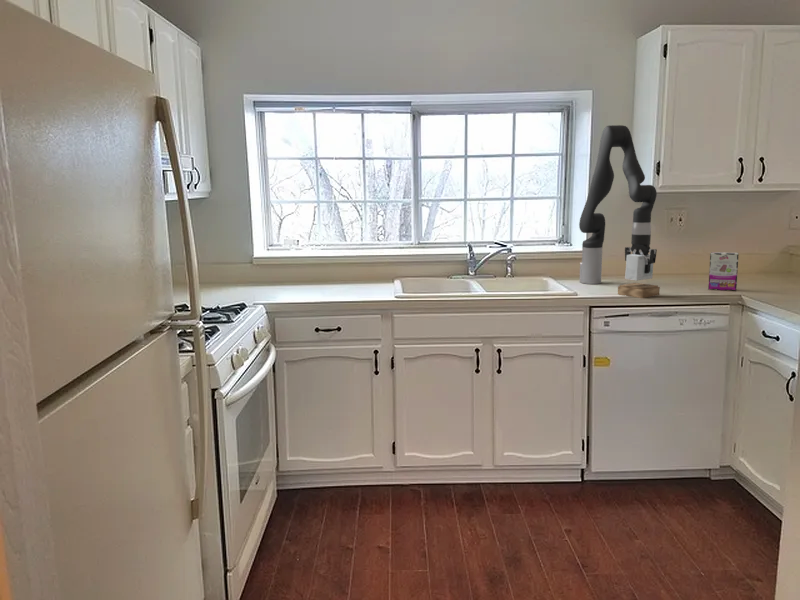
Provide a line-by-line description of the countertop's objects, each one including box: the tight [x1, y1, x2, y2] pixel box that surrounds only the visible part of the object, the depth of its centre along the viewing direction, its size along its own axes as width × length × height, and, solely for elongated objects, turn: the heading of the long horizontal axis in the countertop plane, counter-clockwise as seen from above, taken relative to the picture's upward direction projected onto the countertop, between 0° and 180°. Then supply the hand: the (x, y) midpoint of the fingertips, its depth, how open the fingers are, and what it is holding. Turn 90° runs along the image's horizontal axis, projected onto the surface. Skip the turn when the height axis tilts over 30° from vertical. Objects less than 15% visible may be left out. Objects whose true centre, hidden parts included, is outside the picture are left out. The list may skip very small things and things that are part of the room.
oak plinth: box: [617, 282, 661, 299], centre depth 269 cm, size 12×12×4 cm
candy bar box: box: [708, 251, 740, 291], centre depth 277 cm, size 11×5×16 cm, turn 62°
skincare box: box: [624, 253, 654, 282], centre depth 268 cm, size 10×6×10 cm, turn 122°
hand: (639, 272), depth 268 cm, fingers closed on skincare box, 6 cm apart
